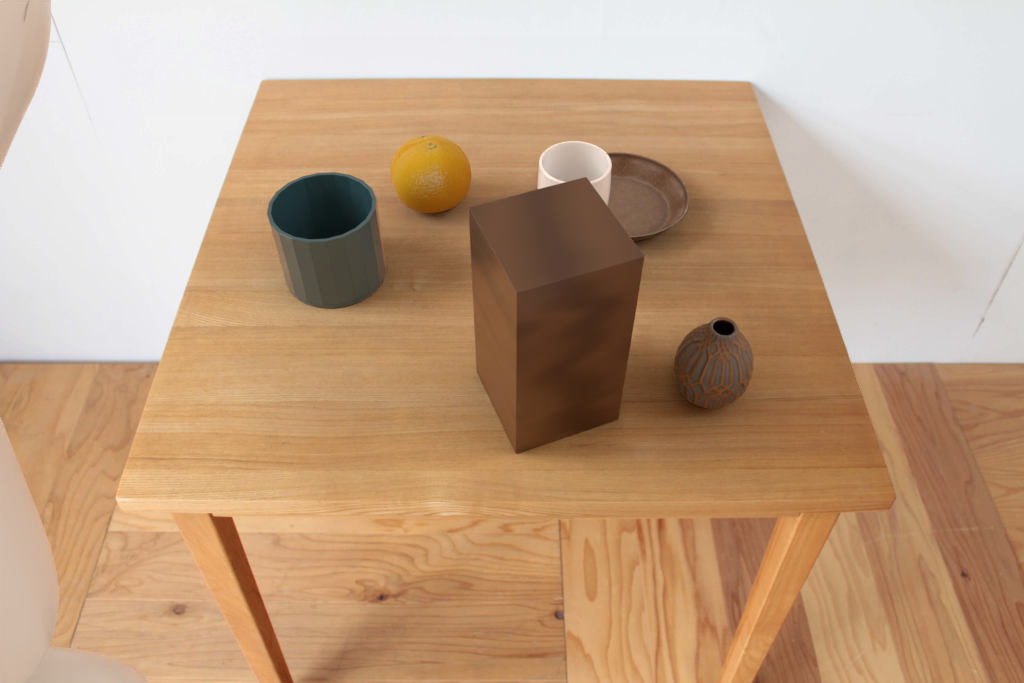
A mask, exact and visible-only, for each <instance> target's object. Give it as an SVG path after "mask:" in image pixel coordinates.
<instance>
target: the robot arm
mask: <svg viewBox="0 0 1024 683" xmlns="http://www.w3.org/2000/svg"><path fill="white" fill-rule="evenodd" d="M51 29H52V0H0V170H1V169H2V167H3V165H4V162H5V161H6V160H5V159H6V157H7V155H8V152H9V150H10V148H11V146H12V143H13V141H14V138H15V137H16V134H17V132H18V130H19V128H20V126H21V124H22V121H23V119H24V117H25V115H26V114H27V111H28V108H29V107H30V104H31V103H32V100H33V99H34V97H35V94H36V92H37V88H38V86H39V84H40V81H41V78H42V76H43V72H44V68H45V64H46V62H47V57H48V53H49V46H50V40H51ZM60 595H61V594H60V585H59V575H58V570H57V565H56V561H55V556H54V553H53V550H52V546H51V544H50V541H49V538H48V535H47V532H46V530H45V527H44V524H43V521H42V519H41V517H40V513H39V510H38V508H37V506H36V504H35V500H34V499H33V496H32V494H31V490H30V488H29V486H28V483H27V481H26V478H25V474H24V473H23V470H22V467H21V465H20V463H19V460H18V457H17V455H16V452H15V450H14V447H13V445H12V442H11V439H10V437H9V434H8V432H7V429H6V427H5V424H4V422H3V420H2V416H1V415H0V683H149V681H148V679H147V678H146V676H145V675H144V674H143V673H142V672H140V670H139V669H138V668H136V667H135V666H134V665H132V664H130V663H129V662H127V661H126V660H124V659H120V658H118V657H115V656H112V655H109V654H105V653H102V652H97V651H93V650H87V649H81V648H75V647H67V646H58V645H51V643H52V640H53V638H54V635H55V634H56V629H57V624H58V617H59V608H60V602H61V601H60V597H61V596H60Z"/></svg>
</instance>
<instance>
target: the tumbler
mask: <svg viewBox="0 0 1024 683" xmlns="http://www.w3.org/2000/svg"><path fill="white" fill-rule="evenodd" d="M266 216H267V219H268V223H269V227H270V231H271V234H272V237H273V242H274V244H275V248H276V252H277V255H278V259H279V262H280V266H281V269H282V273H283V276H284V279H285V283H286V286H287V288H288V290H289V292H290V294H291V295H293V297H294V298H295V299H297V300H298V301H300V302H301V303H304V304H306V305H308V306H311V307H314V308H320V309H339V308H345V307H350V306H353V305H355V304H358V303H361V302H362V301H364V300H366V299H367V298H370V297H371V296H372V295H373V294H374V293H375V292H376V291H377V290H378V289H379V288H380V287H381V285H382V284H383V282H384V281H385V277H386V275H387V259H386V253H385V247H384V246H385V245H384V239H383V232H382V226H381V220H380V213H379V206H378V201H377V196H376V195H375V192H374V190H373V188H372V187H371V185H369V184H367V182H366V181H364V180H363V179H361V178H359V177H356V176H354V175H351V174H348V173H344V172H343V173H342V172H336V171H328V172H315V173H311V174H306V175H303V176H300V177H297V178H296V179H294V180H291V181H289V182H288V183H287V182H286V184H285V185H283V186H282V187H280V188H279V189H278V190H277V191H275V193H274V194H273V196H272V197H271V198H270V200H269V202H268V206H267V211H266Z"/></svg>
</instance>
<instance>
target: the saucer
mask: <svg viewBox="0 0 1024 683" xmlns="http://www.w3.org/2000/svg"><path fill="white" fill-rule="evenodd" d="M606 153H607V154H608V155H609V157H610V159H611V162H612V170H611V187H610V195H609V202H608V207H609V209H610V210H611V211H612V213H613V214H614V215H615V217H616V218H617V220H618V221H619V222H620V224H621V225H622V226H623V228H624V229H625V231H626V232H627V233H628V235H629V236H630V237H631V239H632V240H633V241H634V242H635V241H641V240H642V241H643V240H646V239H649V238H653V237H656V236H658V235H660V234H662V233H664V232H666V231H668V230H670V229H671V228H672V227H674V226H675V225H676V224H677V223H679V222H680V221H681V220H682V218H684V216H685V215H686V214H687V211H688V208H689V205H690V193H689V189H688V187H687V185H686V183H685V182H684V180H683V179H682V178H681V176H679V174H677V173H676V171H675V170H673V169H672V168H671V167H669V166H668V165H666V164H664V163H663V162H660V161H658V160H656V159H653V158H651V157H649V156H644V155H641V154H637V153H631V152H620V151H619V152H617V151H615V152H606Z"/></svg>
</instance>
